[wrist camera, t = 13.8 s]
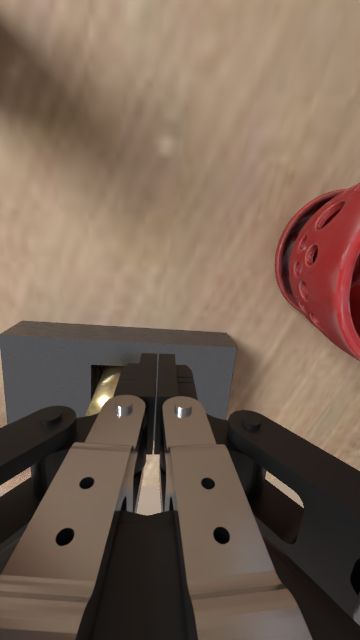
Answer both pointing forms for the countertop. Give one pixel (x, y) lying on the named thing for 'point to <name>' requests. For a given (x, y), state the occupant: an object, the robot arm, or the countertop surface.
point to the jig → (104, 363)
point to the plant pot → (325, 266)
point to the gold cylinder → (104, 388)
